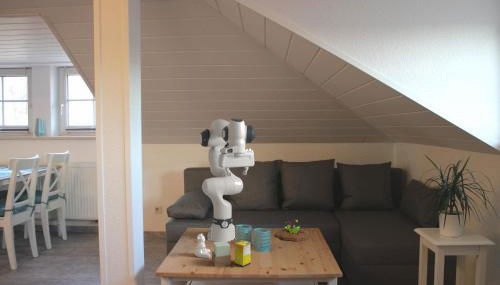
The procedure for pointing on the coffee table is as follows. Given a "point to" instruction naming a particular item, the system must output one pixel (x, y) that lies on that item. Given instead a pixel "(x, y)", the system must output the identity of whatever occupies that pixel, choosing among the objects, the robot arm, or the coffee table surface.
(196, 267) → the coffee table surface
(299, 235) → the plant
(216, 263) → the walnut block
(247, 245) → the supplement box
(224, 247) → the sage block
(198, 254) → the white creature statuette
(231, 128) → the robot arm
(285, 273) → the coffee table surface
